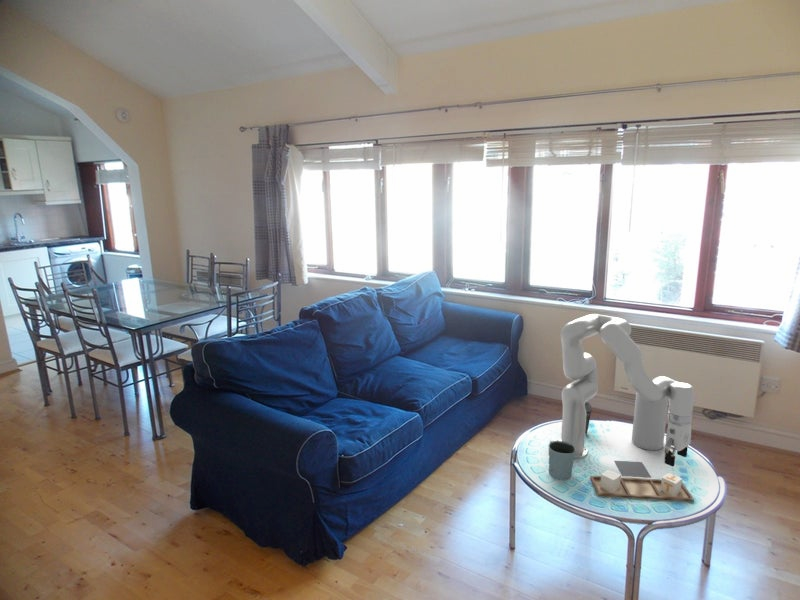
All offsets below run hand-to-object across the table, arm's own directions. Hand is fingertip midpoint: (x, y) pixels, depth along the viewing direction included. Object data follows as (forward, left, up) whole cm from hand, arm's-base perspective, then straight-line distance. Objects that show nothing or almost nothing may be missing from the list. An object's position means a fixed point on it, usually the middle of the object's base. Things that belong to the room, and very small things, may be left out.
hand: (675, 460), depth 182 cm
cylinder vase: (+3, +36, -14) cm, 39 cm away
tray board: (-11, 0, -14) cm, 18 cm away
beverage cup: (-23, +44, -14) cm, 52 cm away
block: (-22, 0, -13) cm, 26 cm away
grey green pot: (-39, +8, -14) cm, 42 cm away
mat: (-10, +14, -14) cm, 22 cm away
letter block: (0, 0, -13) cm, 13 cm away
